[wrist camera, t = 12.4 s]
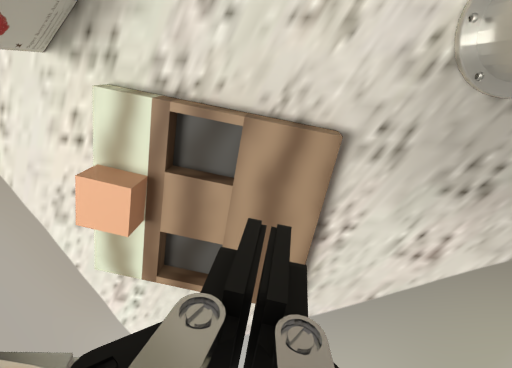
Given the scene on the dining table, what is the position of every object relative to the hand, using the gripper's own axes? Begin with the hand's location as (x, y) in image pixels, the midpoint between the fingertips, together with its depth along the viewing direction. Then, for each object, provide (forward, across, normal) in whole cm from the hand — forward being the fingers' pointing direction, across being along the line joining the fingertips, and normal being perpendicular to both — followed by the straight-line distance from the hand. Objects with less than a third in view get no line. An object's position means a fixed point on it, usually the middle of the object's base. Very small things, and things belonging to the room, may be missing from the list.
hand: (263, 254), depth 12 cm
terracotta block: (+21, +18, +11) cm, 30 cm away
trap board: (+24, +8, +11) cm, 28 cm away
